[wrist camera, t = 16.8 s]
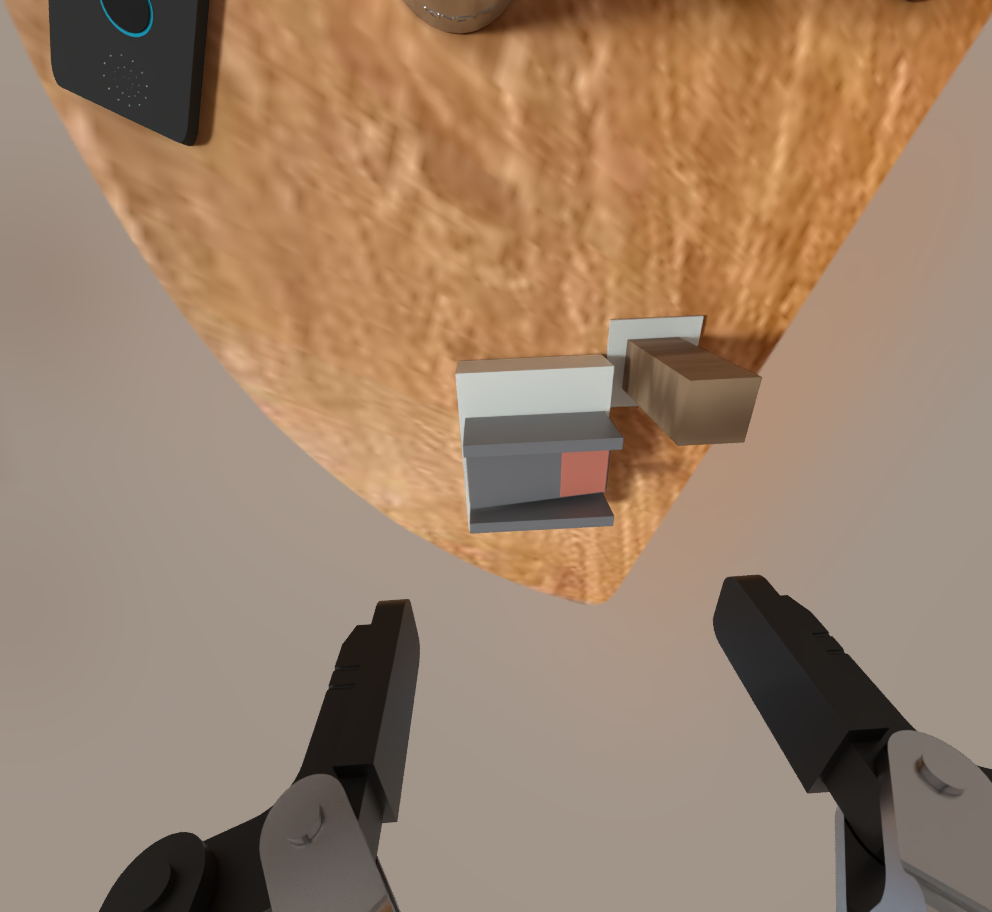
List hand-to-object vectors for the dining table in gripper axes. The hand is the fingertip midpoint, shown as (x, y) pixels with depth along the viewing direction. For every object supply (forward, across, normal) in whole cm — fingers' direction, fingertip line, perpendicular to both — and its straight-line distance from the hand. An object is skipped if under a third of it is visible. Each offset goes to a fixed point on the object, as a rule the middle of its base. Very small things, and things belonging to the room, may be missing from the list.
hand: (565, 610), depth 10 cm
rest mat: (+29, -13, +3) cm, 32 cm away
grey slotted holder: (+29, -2, +9) cm, 30 cm away
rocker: (+22, -2, +9) cm, 24 cm away
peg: (+28, -13, +3) cm, 31 cm away
